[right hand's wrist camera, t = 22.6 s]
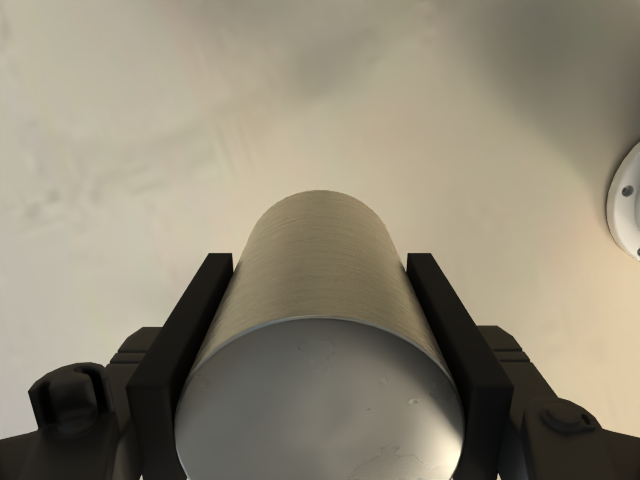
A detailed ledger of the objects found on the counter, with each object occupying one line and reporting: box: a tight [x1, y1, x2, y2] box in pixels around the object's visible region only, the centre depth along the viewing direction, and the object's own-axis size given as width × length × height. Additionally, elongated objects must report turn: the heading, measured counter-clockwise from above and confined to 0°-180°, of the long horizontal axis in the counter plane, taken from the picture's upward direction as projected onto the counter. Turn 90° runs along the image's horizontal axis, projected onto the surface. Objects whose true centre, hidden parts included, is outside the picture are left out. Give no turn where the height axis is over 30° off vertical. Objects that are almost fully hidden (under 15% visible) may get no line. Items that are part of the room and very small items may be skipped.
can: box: [174, 190, 466, 480], centre depth 13 cm, size 6×6×9 cm
